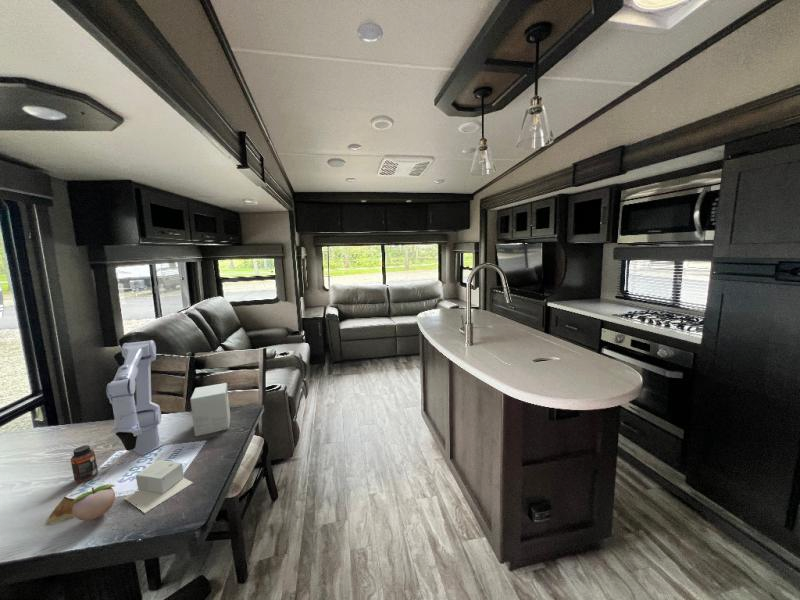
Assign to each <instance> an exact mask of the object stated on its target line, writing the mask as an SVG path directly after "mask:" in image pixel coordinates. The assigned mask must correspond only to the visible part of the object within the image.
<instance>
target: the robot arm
mask: <svg viewBox="0 0 800 600" xmlns="http://www.w3.org/2000/svg"><path fill="white" fill-rule="evenodd" d="M121 356H122V357H123V358H124V362H123V364H122V365H121V366H119V367H118V368H117V372H116V373H115V376H114V378H113V380H112V381H110V382H108V383H107V385H106V396H107V399H108V400H109V403H110V404H111V406H112V410H113V411H112V412H113V418H114V421H113V424H114V425H113V426H114V427H115V428H113V429H111V433H113V434H115V436H116V437H118V439H120V442H121V443H122V445H123V447H124V448H125V450H126V451H127V452H130V451H134V452H135V453H136V454H137V453H138V454H139V455H141V456H144V455H146V454H149V453H150V452H152V451H155V450H156V449H159V448H161V447H164V446H165V445H166V443H165V442H163V441H161V440H160V436H159V435H160V433H159V427H158V425H160V424H161V422H162V411H161V407H160V405H159V404H157V403H155V402H152V380H151V379H152V375H151V374H152V372H151V368H152V362H154V361H155V360H156V359H157V358H156V357H157V346H156V342H155V340H153V339H151V340H144V341H142V340H141V341H136V342H135V341H133V342H124V343H123V344H122V346H121ZM135 392H136V394H135ZM134 394H135V395H134ZM135 396H136V401H135Z"/></svg>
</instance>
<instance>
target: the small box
mask: <svg viewBox="0 0 800 600" xmlns="http://www.w3.org/2000/svg"><path fill="white" fill-rule="evenodd" d="M183 477H184V478H185V476H184V469H183V463H182V462H177V461H168V460H162V459H160V460H159V459H158V460H156V461H154V462H153V463H151V464H150V465H148V466H147V467H145V468H144V469H143V470H140V472H138V473H136V474H135V481H136V484H137V485H136V486H137V491H138V490H143V491H149V492H156V493H165V492H166V491H167V490H168V489H170V488H171V487H172V486H173V485H175V484H176V483H177V482H178V481H180V480H181V479H182V478H183Z"/></svg>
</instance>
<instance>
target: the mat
mask: <svg viewBox="0 0 800 600" xmlns="http://www.w3.org/2000/svg"><path fill="white" fill-rule="evenodd" d="M192 484H194V482H193V481H191V480H189V479H187V478H185V476H184V477H183V478H182V479H181V480H180V481H178V482H177V483H176V484H175V485H173V486H172V487H171V488H170V489H168V490H167V491H166V492H165V493H156V492H149V491H143V490H139V491H138V490H136V491H134V492H133V493H135V494H133V493H131V494H132V495H131V494H129V495H127V496H126V497H124V498H123V500H125V501H126V500H127V501H128V503H129V502H130V503H131V504H130V503H129V504H130V505H132V504H133V505H134V506H133V505H132V506H133V507H135V506H136V505H135V504H137V506H136V507H137V508H138V510H139V509H140V510H141V511H140V510H139V511H140V512H142V513H143V514H147V513H148V512H150V511H151V509H152V510H153V509H155V508H157V507H158V506H160V505H161V504H163V503H164V502H166V501H168V500H169V499H171V498H173V496H175V495H177V494H179V493H180V492H182V491H184V490H185V489H186V488H189V486H191V485H192ZM127 501H126V502H127ZM162 502H163V503H162ZM159 504H160V505H159ZM157 505H158V506H157ZM136 507H135V508H136ZM137 508H136V509H137Z"/></svg>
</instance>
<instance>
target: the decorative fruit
mask: <svg viewBox="0 0 800 600" xmlns="http://www.w3.org/2000/svg"><path fill="white" fill-rule="evenodd" d="M115 486H116V485H114V484H104V485H103V484H102V485H100V486H97V487H95V488H94V486H93V487H91V490H90V491H86V492H83V493H81V494H79V495H78V496H76V498H73V499H74V500H73V502H72V503H74V502H75V503H74V505H73V515H74V516H73V517H75V519H77V520H79V521H82V522H88V521H92V520H95V519H98V518H100V517H101V516H103V515H104V514H106V513H107V512H108V511H109V510H110V509H112V506H113V504H114V503H115V499H116V492H115V490H114V489H113V487H115ZM72 503H71V504H72Z"/></svg>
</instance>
